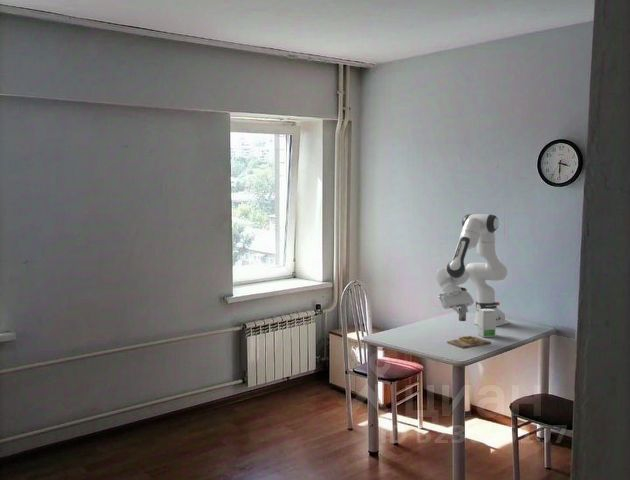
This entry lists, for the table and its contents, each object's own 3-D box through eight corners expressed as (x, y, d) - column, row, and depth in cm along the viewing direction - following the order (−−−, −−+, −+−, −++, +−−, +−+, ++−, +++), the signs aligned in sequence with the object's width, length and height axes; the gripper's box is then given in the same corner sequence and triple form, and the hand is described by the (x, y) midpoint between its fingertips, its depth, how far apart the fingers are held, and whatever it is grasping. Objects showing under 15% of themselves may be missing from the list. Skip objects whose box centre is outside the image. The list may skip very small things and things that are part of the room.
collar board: (474, 338, 342) (474, 333, 342) (490, 343, 331) (490, 338, 331) (447, 342, 334) (447, 337, 333) (462, 348, 322) (462, 343, 322)
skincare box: (482, 337, 344) (483, 311, 342) (477, 334, 350) (477, 308, 349) (496, 336, 345) (496, 310, 344) (490, 333, 352) (490, 308, 350)
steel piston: (462, 319, 338) (462, 305, 337) (467, 320, 334) (467, 306, 334) (457, 320, 336) (457, 306, 336) (461, 321, 333) (462, 307, 332)
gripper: (440, 291, 336) (451, 311, 328) (468, 288, 344) (479, 307, 337) (435, 297, 340) (445, 317, 332) (463, 294, 349) (474, 313, 341)
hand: (463, 312), depth 334 cm, fingers closed on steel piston, 4 cm apart
